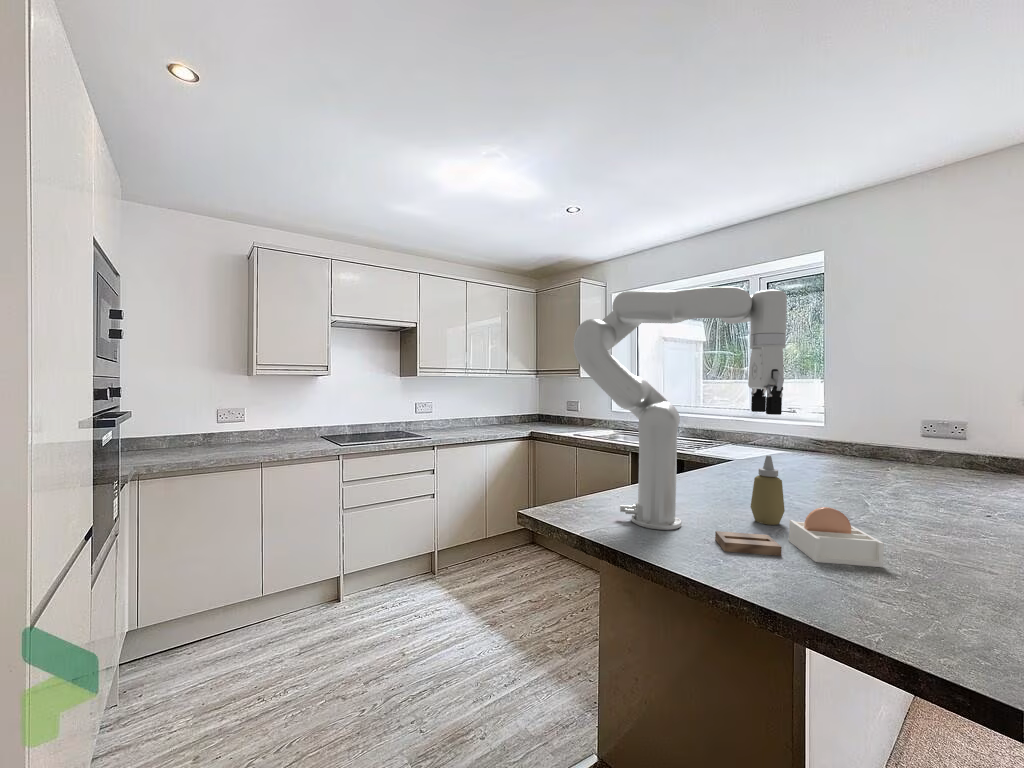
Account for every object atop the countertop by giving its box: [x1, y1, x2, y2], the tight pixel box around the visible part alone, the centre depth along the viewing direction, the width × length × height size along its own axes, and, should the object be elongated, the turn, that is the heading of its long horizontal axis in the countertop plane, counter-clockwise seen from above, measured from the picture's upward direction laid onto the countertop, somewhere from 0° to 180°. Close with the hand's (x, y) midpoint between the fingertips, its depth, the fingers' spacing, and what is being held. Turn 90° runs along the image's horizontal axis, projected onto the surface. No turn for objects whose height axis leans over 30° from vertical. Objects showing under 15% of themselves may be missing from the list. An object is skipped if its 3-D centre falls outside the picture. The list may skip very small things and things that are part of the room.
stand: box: [714, 530, 783, 557], centre depth 105 cm, size 12×8×2 cm
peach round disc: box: [804, 506, 851, 534], centre depth 103 cm, size 1×9×9 cm, turn 80°
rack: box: [788, 519, 885, 568], centre depth 103 cm, size 13×13×5 cm
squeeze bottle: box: [750, 455, 785, 526], centre depth 125 cm, size 8×8×18 cm
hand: (765, 413), depth 112 cm, fingers open, 9 cm apart
